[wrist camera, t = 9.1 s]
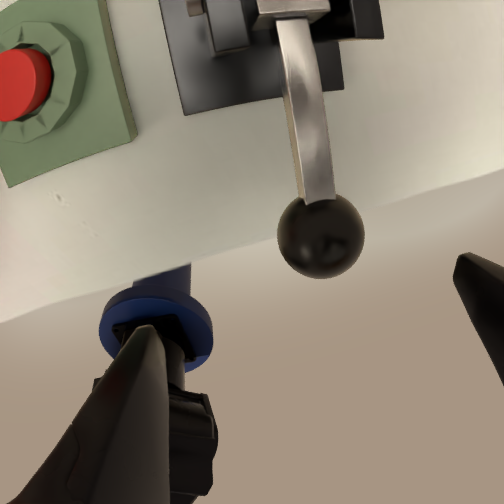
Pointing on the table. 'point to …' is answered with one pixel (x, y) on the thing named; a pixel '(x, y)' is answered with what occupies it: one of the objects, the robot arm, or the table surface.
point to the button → (22, 82)
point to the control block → (65, 87)
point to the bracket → (251, 50)
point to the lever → (308, 146)
